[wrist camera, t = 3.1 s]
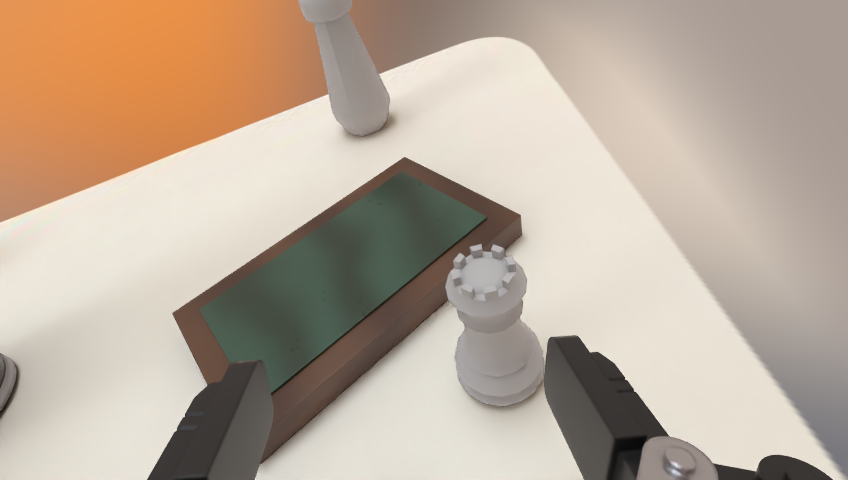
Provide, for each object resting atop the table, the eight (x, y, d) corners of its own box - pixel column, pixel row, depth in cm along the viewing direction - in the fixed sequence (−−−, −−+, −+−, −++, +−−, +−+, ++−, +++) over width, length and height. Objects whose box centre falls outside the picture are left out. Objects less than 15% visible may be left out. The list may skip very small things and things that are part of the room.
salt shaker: (380, 104, 46) (338, -32, 37) (405, 122, 42) (365, -25, 33) (332, 127, 45) (277, -8, 36) (353, 147, 41) (298, 1, 32)
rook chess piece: (440, 371, 22) (403, 275, 17) (496, 316, 24) (479, 212, 19) (505, 430, 20) (487, 338, 14) (563, 364, 21) (567, 259, 16)
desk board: (259, 465, 21) (239, 451, 20) (188, 328, 28) (170, 311, 27) (522, 234, 28) (520, 212, 27) (409, 174, 36) (404, 155, 34)
